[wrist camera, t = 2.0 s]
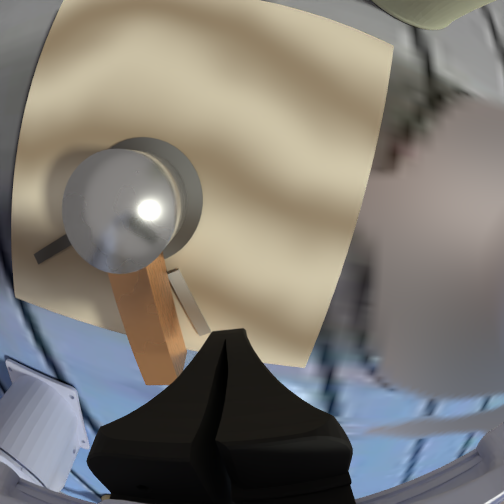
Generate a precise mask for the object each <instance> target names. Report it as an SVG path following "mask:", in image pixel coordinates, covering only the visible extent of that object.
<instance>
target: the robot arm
mask: <svg viewBox="0 0 504 504" xmlns="http://www.w3.org/2000/svg"><path fill="white" fill-rule="evenodd" d="M6 366H7V369H8V372H9V376H10V379H11V382H12V385H11V386H10V388H9V389H8V390H7V392H6V393H5V394H4V396H3V397H2V398H1V399H0V504H96V503H92V502H88V501H84V500H81V499H77V498H74V497H71V496H67V495H64V494H61V493H58V492H59V491H60V490H62V488H63V487H64V485H65V483H66V480H67V478H68V475H69V473H70V470H71V468H72V465H73V463H74V460H75V458H76V456H77V453H78V451H79V449H80V447H82V448H84V449H89V447H90V445H89V441H88V437H87V434H86V430H85V426H84V421H83V417H82V413H81V408H80V403H79V398H78V393H77V390H76V389H75V388H74V387H72V386H69V385H67V384H64V383H62V382H59V381H57V380H54V379H52V378H50V377H47V376H45V375H43V374H40V373H38V372H36V371H34V370H32V369H30V368H27V367H25V366H23V365H21V364H19V363H17V362H15V361H13V360H11V359H9V358H8V359H7V360H6ZM352 455H353V449H352V446H351V443H350V441H349V439H348V437H347V435H346V433H345V432H344V430H343V429H342V427H341V426H340V424H339V423H338V421H337V420H336V419H335V417H334V416H332V415H330V414H328V413H326V412H324V411H322V410H319V409H317V408H315V407H313V406H312V405H310V404H309V403H307V402H305V401H304V400H302V399H301V398H299V397H298V396H297V395H295V394H294V393H293V392H291V391H290V390H289V389H287V388H286V387H285V386H284V385H283V384H282V383H281V382H279V381H278V380H277V379H276V378H275V377H274V376H273V374H272V373H271V372H270V371H269V370H268V369H267V368H266V366H265V365H264V364H263V362H262V361H261V360H260V358H259V357H258V355H257V354H256V352H255V351H254V349H253V347H252V346H251V344H250V341H249V339H248V337H247V333H246V330H245V329H244V328H238V329H229V330H220V331H212V332H211V334H210V335H209V336H208V338H207V340H206V341H205V343H204V344H203V346H202V347H201V349H200V350H199V351H198V353H197V354H196V356H195V357H194V358H193V360H192V361H191V362H190V364H189V365H188V366H187V367H186V368H185V369H184V371H183V372H182V373H181V374H180V375H179V376H178V377H177V378H176V379H175V380H174V381H173V382H172V383H171V384H170V385H169V386H168V387H167V388H166V389H165V390H163V391H162V392H161V393H160V394H158V395H157V396H156V397H154V398H153V399H152V400H150V401H149V402H148V403H146V404H145V405H143V406H141V407H140V408H138V409H137V410H135V411H133V412H131V413H130V414H128V415H126V416H124V417H122V418H120V419H117V420H115V421H113V422H111V423H109V424H106V425H104V426H101V427H100V429H99V431H98V433H97V435H96V437H95V439H94V442H93V445H92V447H91V450H90V452H89V455H88V458H87V464H88V467H89V469H90V470H91V471H92V473H93V474H94V475H95V476H96V477H97V478H98V480H99V481H100V482H101V483H102V484H103V485H104V486H105V487H106V488H107V489H108V490H109V491H110V492H111V495H110V499H106V500H103V501H101V502H100V503H98V504H500V503H501V502H503V501H504V422H503V423H501V424H500V425H498V426H497V427H495V428H494V429H492V430H491V431H489V432H488V433H487V434H486V435H485V436H484V437H483V438H482V439H481V440H480V442H479V443H478V445H477V448H476V449H474V450H473V451H471V452H469V453H467V454H466V455H464V456H462V457H460V458H458V459H456V460H454V461H453V462H451V463H449V464H447V465H445V466H443V467H441V468H438V469H436V470H434V471H432V472H430V473H428V474H425V475H423V476H421V477H418V478H416V479H414V480H411V481H409V482H406V483H404V484H401V485H398V486H396V487H393V488H390V489H387V490H384V491H381V492H378V493H375V494H372V495H369V496H366V497H362V498H359V499H354V496H353V492H352V489H351V486H350V484H351V478H350V475H349V472H348V470H349V466H350V463H351V459H352Z"/></svg>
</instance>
